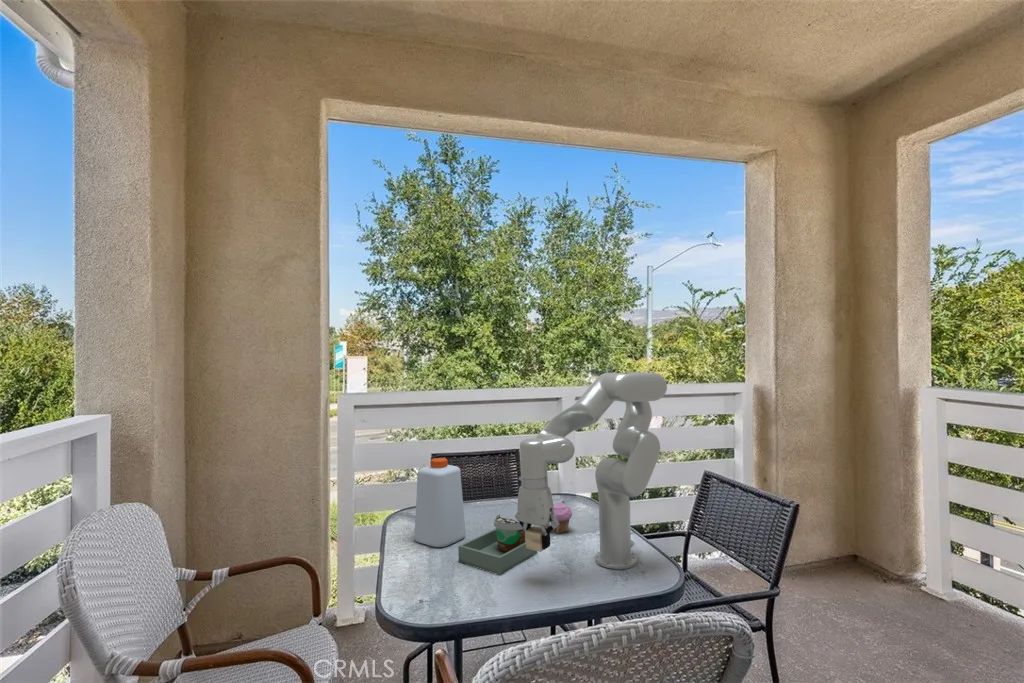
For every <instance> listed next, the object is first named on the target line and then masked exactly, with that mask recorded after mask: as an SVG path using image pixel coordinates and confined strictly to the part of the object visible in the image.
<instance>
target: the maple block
mask: <svg viewBox="0 0 1024 683" xmlns="http://www.w3.org/2000/svg"><path fill="white" fill-rule="evenodd" d="M546 529H547V528H546ZM542 535H543V531H542V528H541V526H538V525H533V526H531V528H529V529H528V530H526V531H525V541H526V549H530V550H534V551H537V553H538V552H539V553H542V552H543V551H545V550H544V549H542Z"/></svg>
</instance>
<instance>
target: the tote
mask: <svg viewBox="0 0 1024 683" xmlns="http://www.w3.org/2000/svg"><path fill="white" fill-rule="evenodd" d="M536 553H537V554H538V551H534V550H530V549H526V541H525V539H524V543H523V544H521V545H520V546H518V547H516V548H514V549H512V550H510V551H509V552H507V553H502V552H500V551H499V550H498V542H497V532H496V527H495V528H493V529H492V530H489V531H487V532H485V533H483V534H481V535H478V536H476V537H475V538H472V539H470V540H468V541H466V542H464V543H462V544H459V545H458V562H459V563H461V562H462V563H461V564H464V563H465V564H464V565H467V564H468V565H467V566H470V565H471V567H473V566H475V567H474V568H476V567H478V568H477V569H480V568H481V569H480V570H483V569H484V570H483V571H486V570H487V572H489V571H490V573H492V572H493V574H495V573H496V575H499V576H501V575H503V574H505V573H506V572H508V571H510V570H511V569H513V568H514V566H515V567H516V565H517V566H518V565H520V564H522V563H523V562H525V561H526V559H527V560H528V559H530V558H531V556H532V557H533V556H535V555H537V554H536ZM534 554H535V555H534ZM529 557H530V558H529ZM524 560H525V561H524ZM521 562H522V563H521ZM519 563H520V564H519ZM509 569H510V570H509ZM504 572H505V573H504Z"/></svg>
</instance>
